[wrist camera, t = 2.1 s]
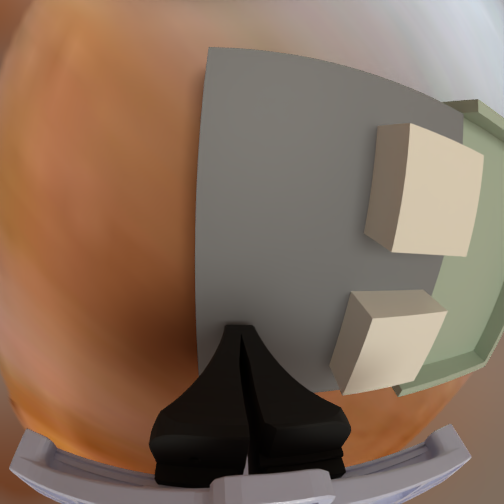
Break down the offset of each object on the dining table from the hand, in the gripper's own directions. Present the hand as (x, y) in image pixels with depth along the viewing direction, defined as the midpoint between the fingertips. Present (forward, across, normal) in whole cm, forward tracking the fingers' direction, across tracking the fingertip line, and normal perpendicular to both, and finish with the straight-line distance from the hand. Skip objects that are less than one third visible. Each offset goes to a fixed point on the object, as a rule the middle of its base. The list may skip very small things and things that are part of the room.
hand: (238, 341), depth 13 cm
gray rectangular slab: (+4, -5, -4) cm, 7 cm away
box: (+4, -18, -4) cm, 18 cm away
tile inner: (+1, -8, 0) cm, 8 cm away
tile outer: (+1, -8, -8) cm, 11 cm away
